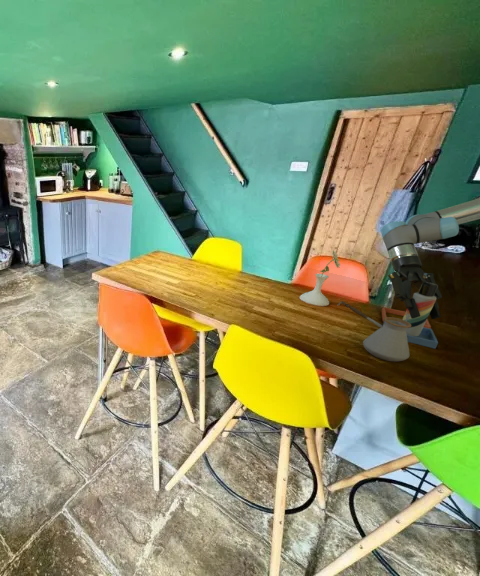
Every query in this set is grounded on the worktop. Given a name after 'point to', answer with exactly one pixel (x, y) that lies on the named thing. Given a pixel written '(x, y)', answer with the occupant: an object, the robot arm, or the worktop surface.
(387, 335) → the coffee pot
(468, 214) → the robot arm
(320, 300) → the flower in vase
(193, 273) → the worktop surface
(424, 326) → the terracotta tray
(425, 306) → the lotion bottle
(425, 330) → the blue tray
